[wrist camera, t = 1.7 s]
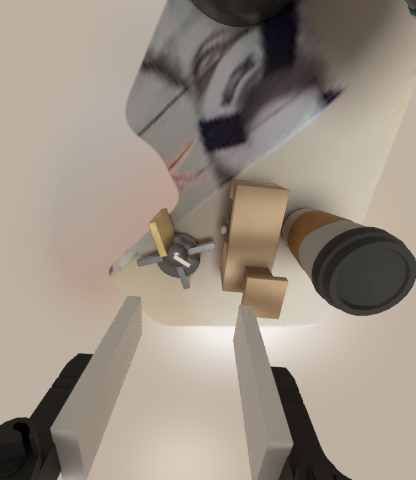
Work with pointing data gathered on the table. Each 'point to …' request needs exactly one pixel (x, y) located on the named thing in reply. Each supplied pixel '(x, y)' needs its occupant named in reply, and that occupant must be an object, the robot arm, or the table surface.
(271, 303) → the wooden drawer box
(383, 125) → the table surface
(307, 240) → the coffee cup
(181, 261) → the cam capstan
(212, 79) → the table surface
